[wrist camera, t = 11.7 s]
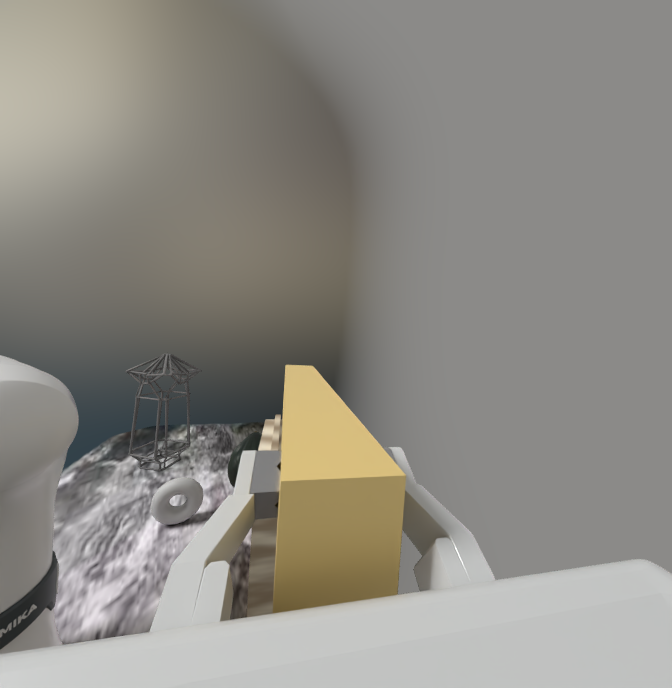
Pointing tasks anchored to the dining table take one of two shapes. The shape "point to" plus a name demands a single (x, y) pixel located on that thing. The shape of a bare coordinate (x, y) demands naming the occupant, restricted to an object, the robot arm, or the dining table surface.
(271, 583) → the plinth
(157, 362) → the geometric lantern
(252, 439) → the squash
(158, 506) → the donut
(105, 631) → the dining table surface
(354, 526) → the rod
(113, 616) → the dining table surface
